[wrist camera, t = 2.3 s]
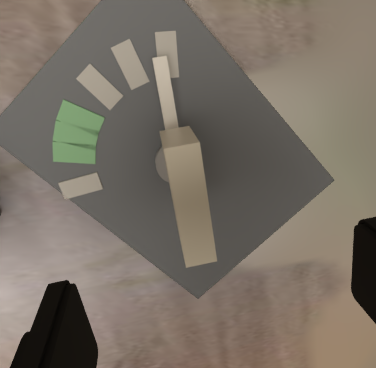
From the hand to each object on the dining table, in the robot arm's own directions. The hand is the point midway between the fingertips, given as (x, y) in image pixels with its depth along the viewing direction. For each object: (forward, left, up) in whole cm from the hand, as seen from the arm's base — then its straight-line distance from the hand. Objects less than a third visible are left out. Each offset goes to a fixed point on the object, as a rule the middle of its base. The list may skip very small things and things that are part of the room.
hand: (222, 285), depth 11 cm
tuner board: (0, 0, -17) cm, 17 cm away
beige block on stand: (+1, -1, -16) cm, 16 cm away
